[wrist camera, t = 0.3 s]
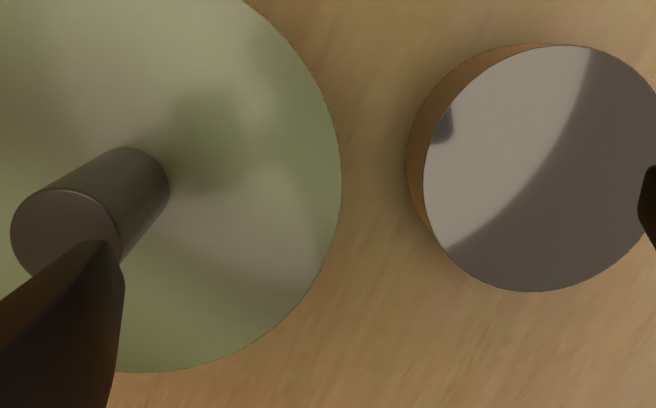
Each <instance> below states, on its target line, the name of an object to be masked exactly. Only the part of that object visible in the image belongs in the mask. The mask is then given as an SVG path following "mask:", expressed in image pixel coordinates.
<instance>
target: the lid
mask: <svg viewBox="0 0 656 408" xmlns="http://www.w3.org/2000/svg"><path fill="white" fill-rule="evenodd" d="M341 200H342V165H341V158H340V150H339V143H338V139H337V135H336V131H335V128H334V124H333V120H332V116H331V114H330V111H329V109H328V107H327V104H326V102H325V99H324V97H323V94H322V92H321V90H320V88H319V86H318V84H317V82H316V81H315V79H314V77H313V75H312V74H311V72H310V70H309V68H308V67H307V65H306V63H305V62H304V61H303V59H302V58H301V57H300V55H299V54H298V53H297V51H296V50H295V49H294V47H293V46H292V45H291V43H290V42H289V41H288V40H287V38H286V37H285V36H284V35H283V34H282V33H281V32H280V31H279V30H278V29H277V28H276V27H275V26H274V25H273V24H272V23H271V22H270V21H269V20H268V19H267V18H266V17H264V16H263V15H262V14H261V13H259V12H258V11H257V10H256V9H254V8H253V7H252V6H251V5H249V4H248V3H247V2H246V1H244V0H0V300H2V299H3V298H4V297H6V296H7V295H8V294H10V293H11V292H12V291H14V290H15V289H17V288H18V287H19V286H21V285H22V284H23V283H25V282H26V281H27V280H29V279H30V278H32V277H33V276H34V275H36V274H37V273H38V272H40V271H41V270H42V269H44V268H45V267H47V266H48V265H49V264H51V263H52V262H53V261H55V260H56V259H57V258H59V257H60V256H62V255H63V254H64V253H66V252H67V251H68V250H70V249H71V248H72V247H74V246H75V245H77V244H78V243H79V242H82V241H87V240H95V239H106V240H107V241H108V242H109V243H110V244H111V246H112V248H113V251H114V253H115V256H116V258H117V261H118V263H119V266H120V268H121V271H122V273H123V276H124V280H125V298H124V306H123V314H122V322H121V329H120V337H119V345H118V353H117V360H116V367H115V371H118V372H130V373H154V372H167V371H174V370H181V369H187V368H191V367H195V366H198V365H202V364H206V363H210V362H212V361H215V360H218V359H220V358H223V357H225V356H228V355H230V354H233V353H235V352H236V351H238V350H240V349H242V348H244V347H246V346H247V345H249V344H251V343H253V342H255V341H256V340H258V339H259V338H260V337H262V336H263V335H264V334H266V333H267V332H269V331H270V330H271V329H273V328H274V327H275V326H276V325H277V324H279V323H280V322H281V321H282V320H283V319H284V318H285V317H286V316H287V315H288V314H289V313H290V312H291V311H292V310H293V309H294V308H295V307H296V306H297V304H298V303H299V302H300V301H301V299H302V298H303V297H304V296H305V295H306V293H307V292H308V291H309V289H310V287H311V286H312V284H313V283H314V281H315V279H316V278H317V276H318V274H319V273H320V271H321V269H322V267H323V265H324V263H325V260H326V258H327V256H328V253H329V251H330V249H331V246H332V243H333V239H334V236H335V232H336V229H337V225H338V221H339V214H340V207H341Z"/></svg>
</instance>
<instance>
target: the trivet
mask: <svg viewBox="0 0 656 408" xmlns="http://www.w3.org/2000/svg"><path fill="white" fill-rule="evenodd" d="M654 164H656V94H655V92H654V90H653V89H652V88H651V87H650V85H649V84H648V83H647V82H646V80H645V79H644V78H643V77H642V76H641V75H640V74H639V73H638V72H637V71H635V70H634V69H633V68H632V67H631V66H629V65H628V64H626V63H625V62H623V61H622V60H620V59H619V58H616V57H614V56H612V55H610V54H608V53H606V52H603V51H600V50H597V49H593V48H590V47H585V46H578V45H545V44H518V45H511V46H504V47H500V48H496V49H493V50H489V51H487V52H484V53H482V54H479V55H477V56H475V57H473V58H471V59H469V60H468V61H466V62H464V63H463V64H461V65H459V66H458V67H457V68H456V69H454V70H453V71H452V72H450V73H449V74H448V75H447V76H446V77H445V78H444V79H443V80H442V81H441V82H440V83H439V84H438V85H437V86H436V87H435V88H434V89H433V91H432V92H431V93H430V95H429V96H428V97H427V99H426V100H425V102H424V103H423V105H422V107H421V108H420V110H419V112H418V114H417V116H416V119H415V121H414V123H413V126H412V129H411V132H410V136H409V139H408V145H407V150H406V178H407V184H408V189H409V193H410V196H411V199H412V201H413V204H414V207H415V208H416V210H417V212H418V214H419V216H420V217H421V219H422V221H423V222H424V223H425V225H426V226H427V228H428V229H429V231H430V232H431V233H432V235H433V236H434V238H435V239H436V240H437V242H438V243H439V245H440V246H441V247H442V249H443V250H444V251H445V253H446V254H447V255H448V256H449V257H450V258H451V259H452V260H453V261H454V262H455V263H456V264H457V265H458V266H459V267H460V268H461V269H463V270H464V271H465V272H467V273H468V274H469V275H471V276H473V277H475V278H477V279H478V280H480V281H482V282H484V283H487V284H490V285H492V286H495V287H498V288H502V289H506V290H511V291H520V292H544V291H551V290H558V289H562V288H565V287H569V286H573V285H575V284H578V283H580V282H583V281H586V280H588V279H590V278H592V277H594V276H595V275H597V274H599V273H601V272H603V271H604V270H606V269H607V268H609V267H610V266H612V265H613V264H615V263H616V262H617V261H618V260H619V259H621V258H622V257H623V256H624V255H625V254H626V253H628V252H629V250H630V249H631V248H632V247H633V246H634V245H635V244H636V243H637V242H638V241H639V240H640V238H641V237H642V236H643V234H644V233H645V230H644V229H643V227H642V225H641V223H640V221H639V219H638V216H637V204H638V200H639V196H640V191H641V187H642V183H643V179H644V175H645V172H646V170H647V169H648V168H649V167H650V166H651V165H654Z"/></svg>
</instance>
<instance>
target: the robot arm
mask: <svg viewBox="0 0 656 408" xmlns="http://www.w3.org/2000/svg"><path fill="white" fill-rule="evenodd" d="M637 216H638V219H639V221H640V223H641V225H642V227H643V229H644V230H645V232H646V234H647V236H648V237H649V239H650V241H651V243H652V244H653V246H654V248H655V250H656V164H654V165H651V166H650V167H649V168H648V169H647V170H646V172H645V175H644V179H643V183H642V187H641V191H640V196H639V200H638V204H637ZM124 298H125V280H124V276H123V273H122V271H121V268H120V266H119V263H118V261H117V258H116V256H115V253H114V251H113V248H112V246H111V244H110V243H109V242H108V241H107V240H106V239H95V240H87V241H82V242H79V243H78V244H77V245H75V246H74V247H72V248H71V249H70V250H68V251H67V252H66V253H64V254H63V255H62V256H60V257H59V258H57V259H56V260H55V261H53V262H52V263H51V264H49V265H48V266H47V267H45V268H44V269H42V270H41V271H40V272H38V273H37V274H36V275H34V276H33V277H32V278H30V279H29V280H27V281H26V282H25V283H23V284H22V285H21V286H19V287H18V288H17V289H15V290H14V291H12V292H11V293H10V294H8V295H7V296H6V297H4V298H3V299H2V300H0V408H106V405H107V401H108V398H109V394H110V390H111V386H112V381H113V377H114V372H115V367H116V360H117V353H118V345H119V337H120V329H121V322H122V314H123V306H124Z"/></svg>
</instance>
